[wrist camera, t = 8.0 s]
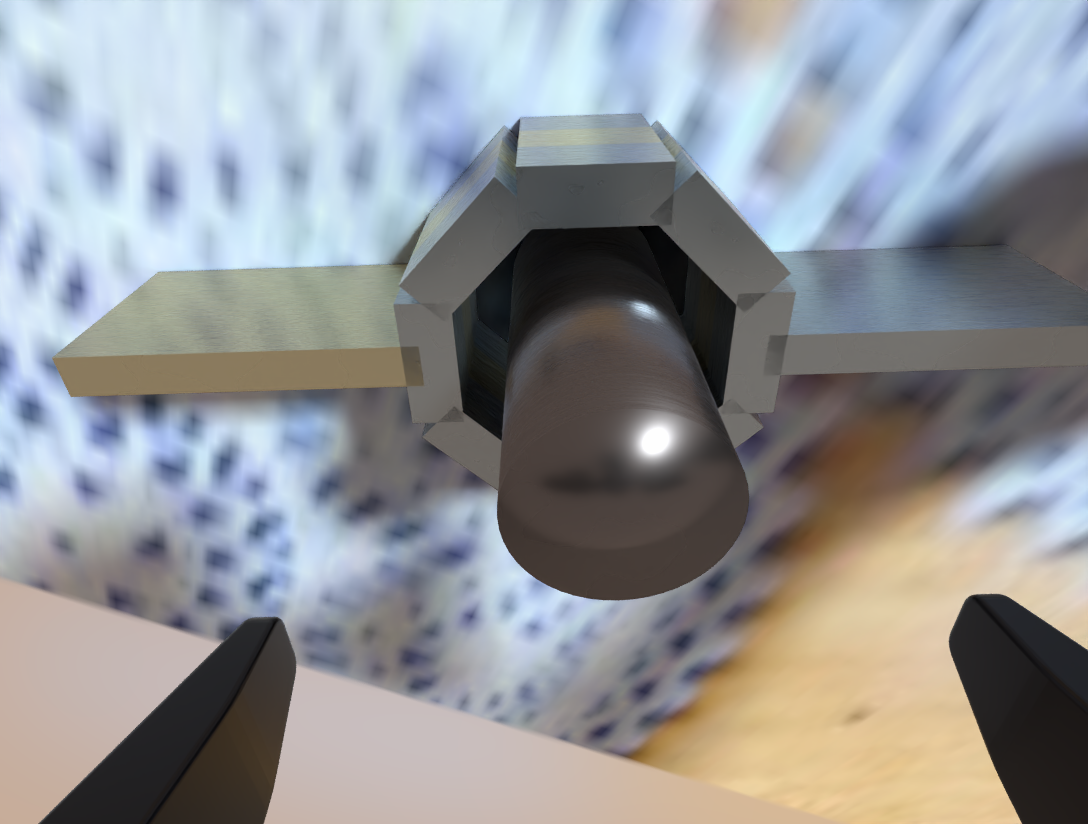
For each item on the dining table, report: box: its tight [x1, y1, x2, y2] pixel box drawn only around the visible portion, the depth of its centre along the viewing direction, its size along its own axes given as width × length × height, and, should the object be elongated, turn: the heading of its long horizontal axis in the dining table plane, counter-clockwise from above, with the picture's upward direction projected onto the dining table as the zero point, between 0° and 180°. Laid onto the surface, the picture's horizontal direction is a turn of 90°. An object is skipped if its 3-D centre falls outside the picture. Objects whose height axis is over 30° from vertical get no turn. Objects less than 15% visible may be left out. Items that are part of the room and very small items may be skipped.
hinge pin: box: [497, 226, 749, 600], centre depth 15 cm, size 4×4×10 cm
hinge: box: [52, 114, 1088, 490], centre depth 17 cm, size 24×8×5 cm, turn 92°
